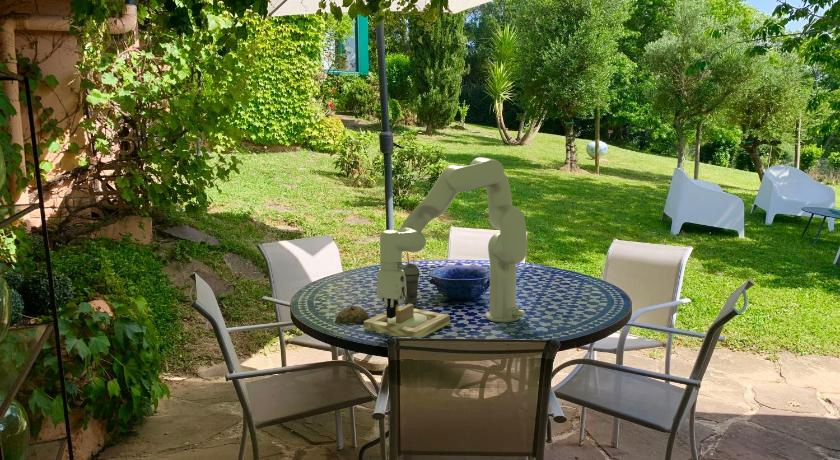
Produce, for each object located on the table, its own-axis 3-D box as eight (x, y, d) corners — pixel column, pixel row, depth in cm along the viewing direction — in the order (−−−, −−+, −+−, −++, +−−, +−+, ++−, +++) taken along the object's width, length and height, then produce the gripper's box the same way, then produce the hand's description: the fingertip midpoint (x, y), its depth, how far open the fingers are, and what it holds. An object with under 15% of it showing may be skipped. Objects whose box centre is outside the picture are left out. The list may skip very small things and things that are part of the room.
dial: (400, 314, 242) (399, 298, 241) (433, 319, 236) (433, 302, 234) (380, 325, 230) (379, 307, 229) (415, 331, 223) (415, 313, 222)
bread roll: (369, 324, 237) (368, 311, 236) (334, 325, 236) (334, 312, 235) (369, 313, 249) (368, 301, 248) (336, 314, 248) (335, 302, 248)
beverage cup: (417, 304, 260) (417, 254, 257) (400, 303, 262) (399, 254, 258) (421, 299, 267) (421, 251, 264) (404, 298, 269) (403, 250, 265)
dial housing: (449, 323, 236) (449, 314, 235) (415, 340, 218) (415, 331, 217) (400, 313, 248) (399, 305, 247) (363, 329, 230) (363, 320, 229)
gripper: (415, 266, 225) (414, 318, 228) (380, 261, 233) (380, 311, 236) (402, 270, 219) (402, 323, 222) (367, 265, 227) (367, 316, 230)
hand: (391, 317), depth 229 cm, fingers closed
